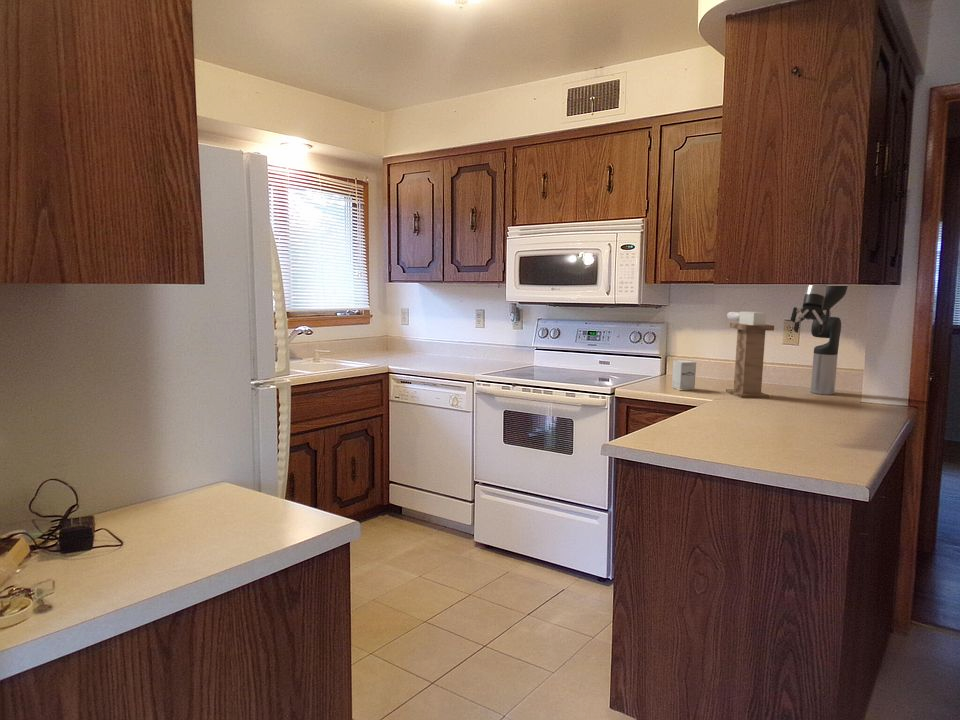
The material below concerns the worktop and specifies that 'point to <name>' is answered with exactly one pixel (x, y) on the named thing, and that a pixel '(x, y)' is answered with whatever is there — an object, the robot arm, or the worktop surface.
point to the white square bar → (748, 317)
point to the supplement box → (684, 374)
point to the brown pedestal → (749, 360)
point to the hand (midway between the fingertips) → (807, 333)
